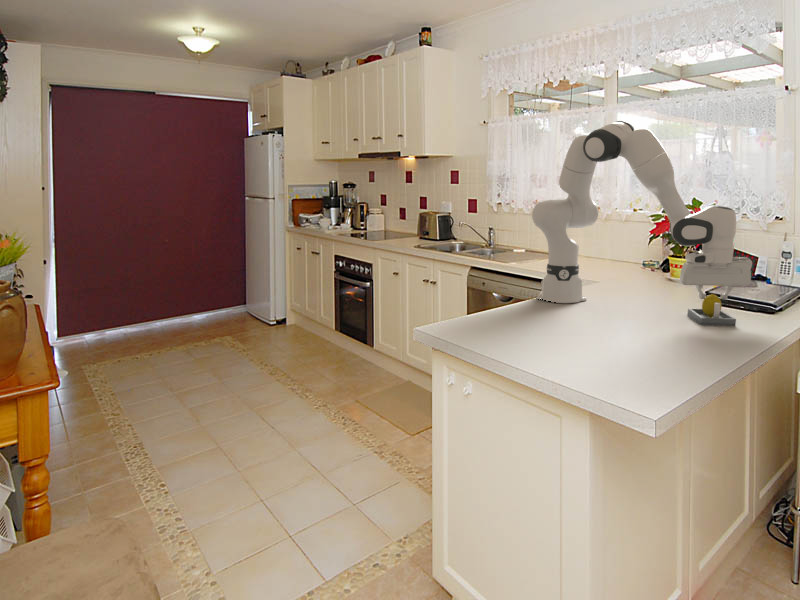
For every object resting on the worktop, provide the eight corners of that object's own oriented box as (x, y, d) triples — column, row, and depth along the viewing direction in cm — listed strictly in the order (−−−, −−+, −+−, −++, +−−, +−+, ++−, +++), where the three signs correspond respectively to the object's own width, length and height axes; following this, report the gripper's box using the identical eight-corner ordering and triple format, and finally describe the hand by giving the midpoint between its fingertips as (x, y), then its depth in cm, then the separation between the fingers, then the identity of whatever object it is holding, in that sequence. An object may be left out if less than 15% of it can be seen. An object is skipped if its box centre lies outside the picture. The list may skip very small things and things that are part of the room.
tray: (687, 315, 189) (689, 295, 188) (719, 316, 188) (721, 296, 186) (700, 325, 176) (702, 304, 175) (735, 326, 174) (737, 305, 173)
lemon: (703, 318, 180) (705, 294, 178) (699, 316, 185) (701, 292, 184) (722, 319, 178) (724, 295, 177) (717, 316, 183) (719, 292, 182)
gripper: (748, 255, 178) (744, 297, 181) (680, 255, 182) (676, 296, 185) (756, 258, 172) (752, 301, 175) (685, 257, 176) (682, 300, 179)
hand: (712, 298), depth 180 cm, fingers open, 5 cm apart
